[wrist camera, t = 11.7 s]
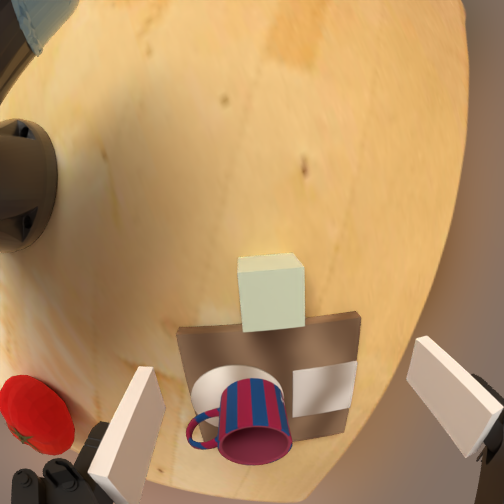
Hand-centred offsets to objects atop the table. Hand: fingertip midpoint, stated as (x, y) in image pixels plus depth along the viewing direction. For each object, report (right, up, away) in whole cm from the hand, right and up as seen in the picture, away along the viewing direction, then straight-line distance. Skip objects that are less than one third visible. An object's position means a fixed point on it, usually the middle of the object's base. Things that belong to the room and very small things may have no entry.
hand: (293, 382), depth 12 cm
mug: (-4, -10, +15) cm, 18 cm away
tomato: (-32, -16, +17) cm, 40 cm away
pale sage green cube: (-1, +3, +14) cm, 15 cm away
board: (0, -9, +17) cm, 19 cm away
